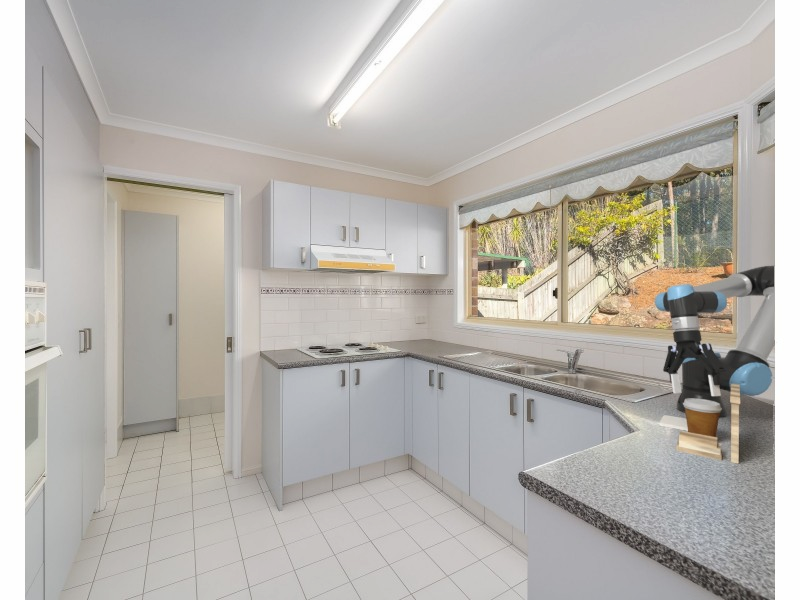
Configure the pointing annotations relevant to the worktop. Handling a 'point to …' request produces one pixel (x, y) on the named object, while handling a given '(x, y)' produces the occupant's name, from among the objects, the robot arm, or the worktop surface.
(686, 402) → the disposable coffee cup
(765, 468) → the worktop surface
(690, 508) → the worktop surface
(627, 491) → the worktop surface
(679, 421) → the white square coaster
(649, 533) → the worktop surface
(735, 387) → the pine panel
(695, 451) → the offcut stack
